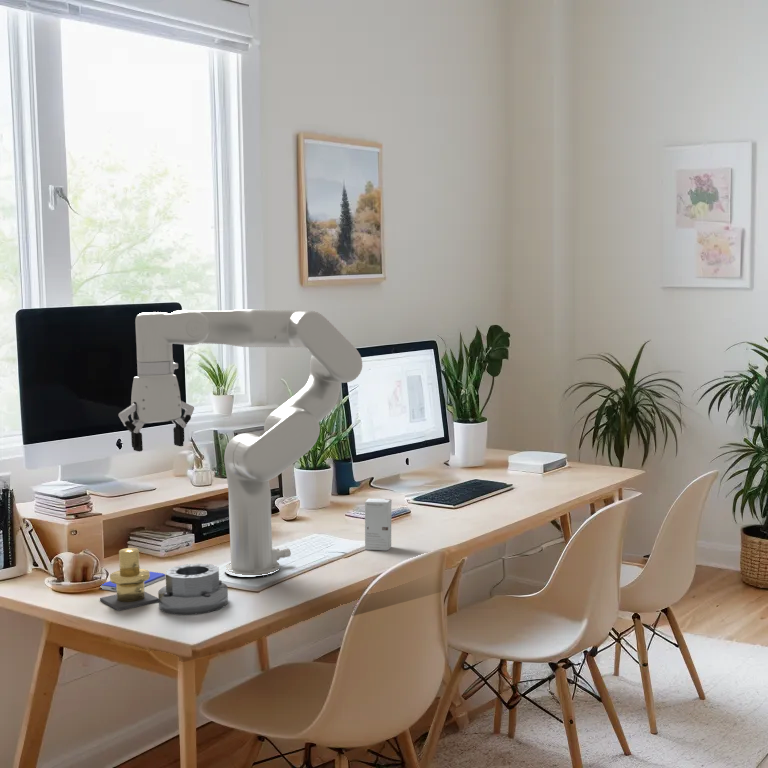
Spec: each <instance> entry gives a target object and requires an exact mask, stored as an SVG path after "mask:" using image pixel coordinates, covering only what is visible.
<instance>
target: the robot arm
mask: <svg viewBox="0 0 768 768" xmlns="http://www.w3.org/2000/svg"><path fill="white" fill-rule="evenodd" d="M134 324H135V343H136V364H137V367H136V369H137V370H136V371H137V376H134V377H133V381H132V387H131V397H130V399H131V400H130V405H128V406H127V407H126V408H125V409H123V410H122V411H120V412H119V413H118V417H119V419H120V421H121V422H122V425H123V427H125V428H126V429H127V430H128V431H129V433H130V437H131V438H130V439H131V447H132V449H133V451H134V452H142V451H143V450H144V448H143V447H144V446H143V433H142V432H140V431H141V430H142V428H143V427H144V425H146V424H153V423H165V422H172V423H173V424H174V427H173V428H172V429H173V445H174V446H176V447H177V446H178V447H184V442H185V428H186V427H187V424H188V423H189V422H190V420H191V419H192V416H193V413H194V410H195V407H194V406H193V405H191V404H189V403H187V402H184V401H183V400H181V391H180V386H179V381H178V378H177V375H176V374H174V373H175V370H177V369H179V363H178V362H174V358H173V354H174V353H173V344H174V345H185V346H186V345H187V346H195V345H199V344H204V345H205V344H208V345H210V344H212V345H213V344H215V345H225V346H226V345H228V346H233V347H240V348H301V349H302V348H304V349H306V350H307V351H308V353H310V355H311V357H310V358H309V376H308V379H307V382H306V383H305V385H304V386H302V388H301V389H300V390H299V391H297V393H295V394H294V395H293V396H291V397H290V398H289V399H288V400H287V401H285V402H283V403H282V404H280V406H278V407H277V408H275V409H274V410H273V411H272V412H270V414H268V416H267V417H266V419H265V420H264V425H263V431H264V433H263V434H262V435H261V436H260V435H257V434H254V433H248V432H245V433H240V434H237V435H235V436H233V437H232V438H231V439H230V440H229V441H228V442H227V444H226V447H225V449H224V457H223V458H224V459H223V460H224V468H225V474H226V480H227V490H228V516H229V517H228V518H229V522H228V524H229V547H230V562H229V563H227V564H226V565H225V566H226V568H227V569H226V570H228V571H229V570H233V571H229V572H232V573H235V574H242V575H262V574H268V573H270V572H274V571H276V570H278V569H279V567H280V565H281V564H280V563H279V562H278V561H279V560H280V559H281V558H283V559H284V558H288V557H291V554H292V551H291V549H290V548H289V547H288V548H282V549H279V548H273V530H272V528H273V527H272V493H271V485H270V481H271V480H272V479H275V478H276V477H278V476H279V475H280V474H282V473H283V472H285V471H286V470H287V469H288V468H290V467H291V466H292V465H293V464H294V463H296V462H297V461H299V460H300V459H301V458H302V457H303V456H305V455H306V454H307V453H308V452H310V450H311V449H312V448H313V447H314V446H315V445H316V443H317V442H318V439H319V437H320V432H321V429H320V428H321V427H320V422H321V421H322V420H323V419H324V418H325V417H327V416H328V415H329V414H330V413H331V412H332V411H333V410H334V408H335V406H337V405H336V404H337V403H338V399H339V396H340V392H341V386H342V385H341V384H344V383H345V384H346V383H350V382H353V381H355V380H356V379H357V378H358V377H359V376H360V374H361V372H362V370H363V359H362V356H361V354H360V352H359V350H357V347H355V346H354V345H353V344H352V343H351V342H350V341H349V340H348V339H347V338H346V336H344V335H343V334H342V333H341V332H340V330H338V329H337V327H335V326H334V324H332V322H331V321H330V320H328V319H327V317H325V316H324V315H323V314H322V313H319V312H318V311H313V310H292V309H291V310H290V309H289V310H288V309H287V310H286V309H285V310H284V309H283V310H282V309H250V308H249V309H234V310H233V309H232V310H188V309H181V310H179V309H178V310H174V311H173V312H171V313H168V312H161V311H160V312H159V311H157V312H156V311H153V312H141V313H139V314H137V315H136V317H135V322H134ZM182 410H184V413H183V415H182ZM129 416H130V417H131V420H132V422H131V421H130V419H129ZM230 564H231V565H230ZM228 568H229V569H228ZM279 570H280V569H279Z"/></svg>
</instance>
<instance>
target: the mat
mask: <svg viewBox="0 0 768 768" xmlns="http://www.w3.org/2000/svg"><path fill="white" fill-rule="evenodd" d="M144 593H145V597H144V598H143V599H142V600H139V601H135V602H120V601H118V600H117V593H116V594H113V595H108V596H104V597H103V596H102V597H99V601H100V602H102V603H104V604H105V605H107V606H109V607H111V608H112V609H115V610H116V611H123V610H127V609H128V610H129V609H132V608H137V607H141V606H145V605H146V606H147V605H150V604H153V603H159V598H158V597H157V596H155V595H152V594H151V593H148V592H147V591H144Z"/></svg>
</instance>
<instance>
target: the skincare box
mask: <svg viewBox="0 0 768 768" xmlns="http://www.w3.org/2000/svg"><path fill="white" fill-rule="evenodd" d="M392 500H393V499H391V498H370V497H369V498H367V499H366V500H365V502H364V550H367V551H368V550H369V551H370V550H371V551H385V552H386V551H389V550H390V549H391V547H392Z"/></svg>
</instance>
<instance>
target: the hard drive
mask: <svg viewBox="0 0 768 768" xmlns="http://www.w3.org/2000/svg"><path fill="white" fill-rule="evenodd" d="M149 572H150V578H149V579H148V580H147V581H144V588H145V587H146V586H149V585H152V584H154V583H157V582H159V581H162V580H164V579H166V573H162V572H157V571H155V572H154V571H149ZM101 584H102V585H101ZM101 584H100V585H101V586H100V587H101V588H102V589H101V590H106V591H111V592H112V591H113V592H117V587H116V584H114V583H112V582H111V581H110V580H109V581H106V582H104V584H103V583H101Z"/></svg>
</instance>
